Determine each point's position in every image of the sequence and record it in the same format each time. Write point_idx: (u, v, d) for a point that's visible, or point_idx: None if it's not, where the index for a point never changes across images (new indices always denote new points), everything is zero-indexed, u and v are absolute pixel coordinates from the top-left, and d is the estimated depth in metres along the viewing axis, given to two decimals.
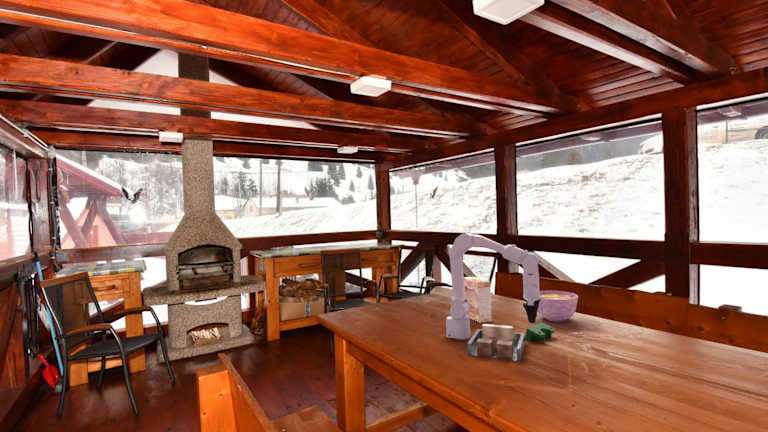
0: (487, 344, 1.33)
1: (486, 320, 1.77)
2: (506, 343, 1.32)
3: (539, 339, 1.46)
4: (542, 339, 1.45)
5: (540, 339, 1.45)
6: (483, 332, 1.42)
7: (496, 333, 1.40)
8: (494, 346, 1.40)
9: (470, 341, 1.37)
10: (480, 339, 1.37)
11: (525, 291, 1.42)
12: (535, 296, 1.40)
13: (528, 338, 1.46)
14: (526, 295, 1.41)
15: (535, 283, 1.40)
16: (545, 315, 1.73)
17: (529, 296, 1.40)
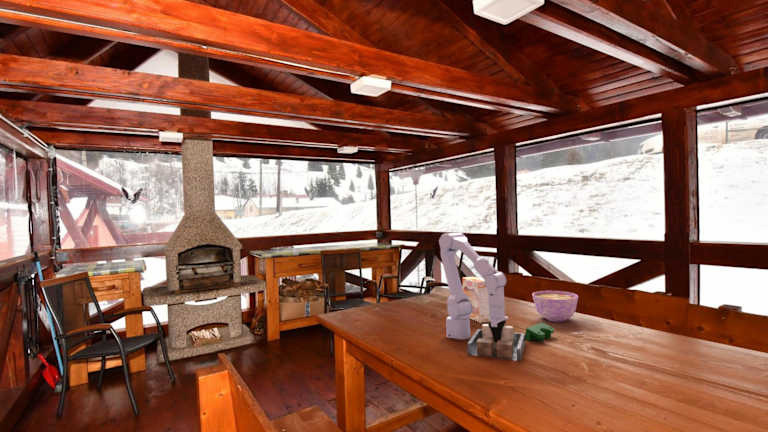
0: (487, 344, 1.33)
1: (486, 320, 1.77)
2: (506, 343, 1.32)
3: (539, 339, 1.46)
4: (542, 339, 1.45)
5: (540, 339, 1.45)
6: (483, 332, 1.42)
7: None
8: (494, 346, 1.40)
9: (470, 341, 1.37)
10: (480, 339, 1.37)
11: (490, 312, 1.40)
12: (500, 317, 1.38)
13: (527, 338, 1.47)
14: (491, 316, 1.39)
15: (496, 304, 1.38)
16: (545, 315, 1.73)
17: (494, 317, 1.38)
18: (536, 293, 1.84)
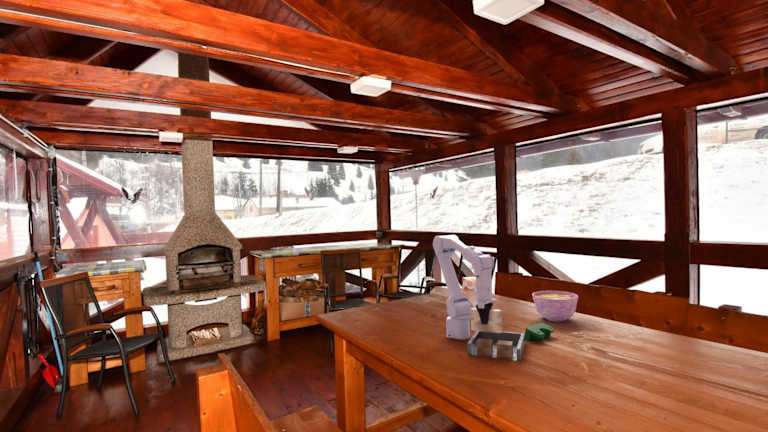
0: (487, 344, 1.33)
1: None
2: (506, 343, 1.32)
3: (538, 339, 1.46)
4: (541, 339, 1.45)
5: (539, 339, 1.46)
6: (471, 316, 1.41)
7: None
8: (482, 330, 1.40)
9: (470, 341, 1.37)
10: (480, 339, 1.37)
11: (477, 294, 1.40)
12: (487, 299, 1.38)
13: (527, 338, 1.47)
14: (478, 298, 1.39)
15: (481, 286, 1.38)
16: (545, 315, 1.73)
17: (481, 299, 1.38)
18: (536, 293, 1.84)
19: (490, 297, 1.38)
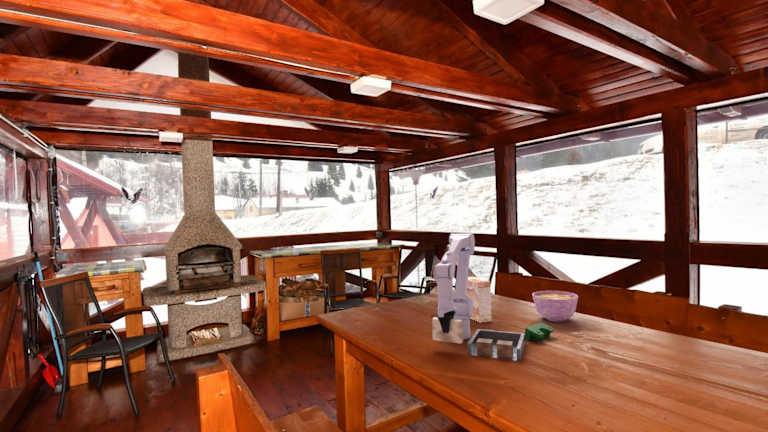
0: (487, 344, 1.33)
1: (486, 320, 1.77)
2: (506, 343, 1.32)
3: (538, 339, 1.46)
4: (541, 339, 1.45)
5: (539, 339, 1.46)
6: (433, 325, 1.41)
7: None
8: (443, 339, 1.39)
9: (470, 341, 1.37)
10: (480, 339, 1.37)
11: (438, 302, 1.39)
12: (447, 307, 1.37)
13: (527, 338, 1.47)
14: (439, 306, 1.38)
15: (438, 293, 1.40)
16: (545, 315, 1.73)
17: (442, 307, 1.38)
18: (536, 293, 1.84)
19: (451, 306, 1.38)
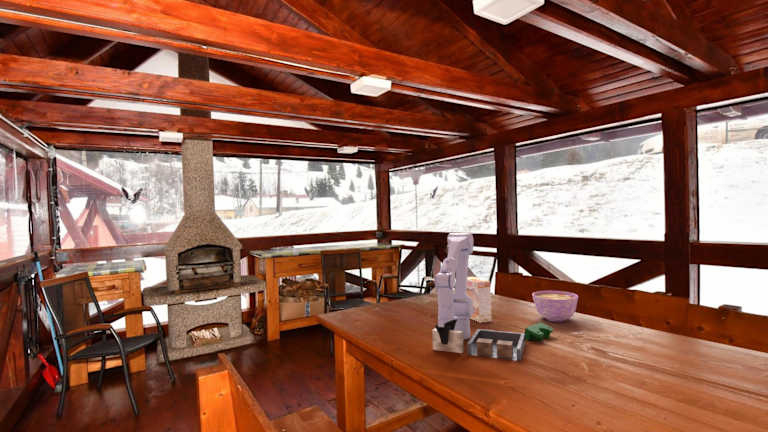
0: (487, 344, 1.33)
1: (486, 320, 1.77)
2: (506, 343, 1.32)
3: (537, 339, 1.46)
4: (540, 339, 1.45)
5: (538, 339, 1.46)
6: (433, 337, 1.41)
7: None
8: None
9: (470, 341, 1.37)
10: (480, 339, 1.37)
11: (439, 312, 1.39)
12: (448, 317, 1.37)
13: (526, 338, 1.47)
14: (440, 316, 1.38)
15: (438, 303, 1.40)
16: (545, 315, 1.73)
17: (442, 317, 1.38)
18: (536, 293, 1.84)
19: (451, 315, 1.38)
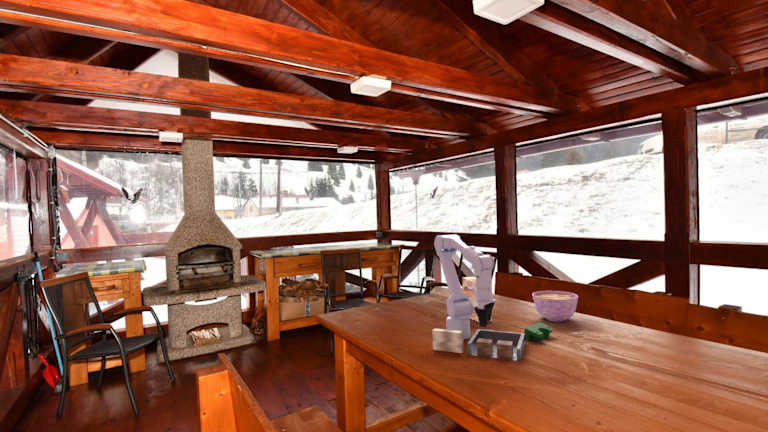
0: (487, 344, 1.33)
1: None
2: (506, 343, 1.32)
3: (537, 339, 1.46)
4: (540, 339, 1.45)
5: (538, 339, 1.46)
6: (433, 337, 1.41)
7: (445, 338, 1.39)
8: None
9: (470, 341, 1.37)
10: (480, 339, 1.37)
11: (477, 294, 1.39)
12: (487, 299, 1.37)
13: (526, 338, 1.47)
14: (478, 298, 1.38)
15: (481, 286, 1.37)
16: (545, 315, 1.73)
17: (481, 299, 1.37)
18: (536, 293, 1.84)
19: (490, 298, 1.37)
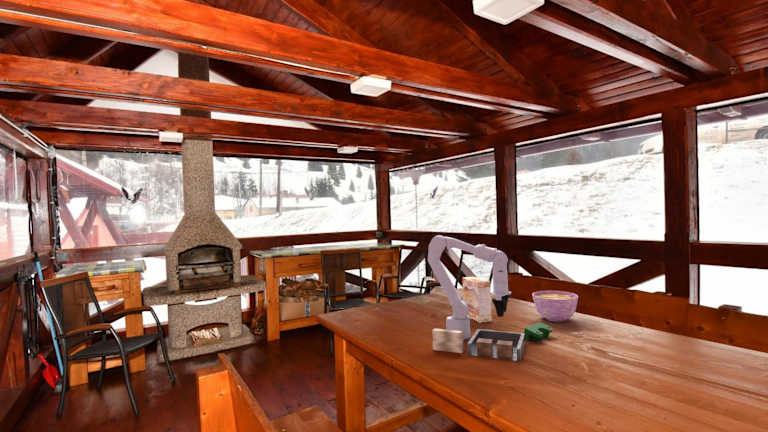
0: (487, 344, 1.33)
1: (486, 320, 1.77)
2: (506, 343, 1.32)
3: (537, 338, 1.46)
4: (540, 338, 1.45)
5: (538, 338, 1.46)
6: (433, 337, 1.41)
7: (445, 338, 1.39)
8: None
9: (470, 341, 1.37)
10: (480, 339, 1.37)
11: (494, 287, 1.51)
12: (503, 291, 1.49)
13: (526, 338, 1.47)
14: (495, 291, 1.50)
15: (505, 279, 1.49)
16: (545, 315, 1.73)
17: (498, 292, 1.49)
18: (536, 293, 1.84)
19: (506, 290, 1.49)
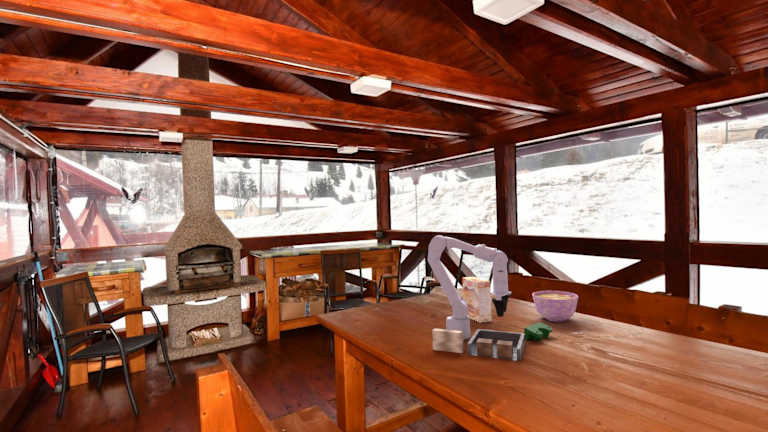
0: (487, 344, 1.33)
1: (486, 320, 1.77)
2: (506, 343, 1.32)
3: (537, 338, 1.46)
4: (540, 338, 1.45)
5: (538, 338, 1.46)
6: (433, 337, 1.41)
7: (445, 338, 1.39)
8: None
9: (470, 341, 1.37)
10: (480, 339, 1.37)
11: (494, 287, 1.51)
12: (503, 291, 1.49)
13: (525, 338, 1.47)
14: (495, 291, 1.50)
15: (505, 279, 1.49)
16: (545, 315, 1.73)
17: (498, 292, 1.49)
18: (536, 293, 1.84)
19: (506, 290, 1.49)
